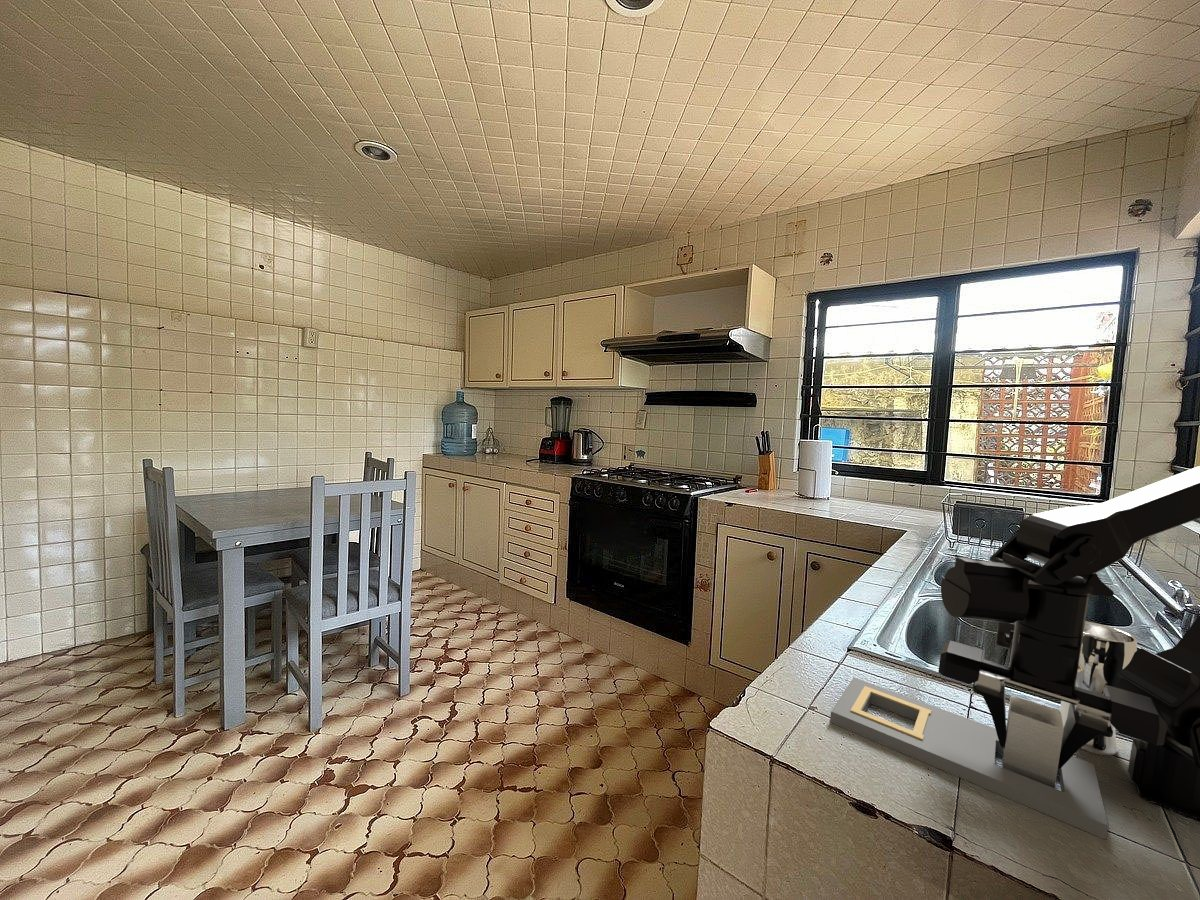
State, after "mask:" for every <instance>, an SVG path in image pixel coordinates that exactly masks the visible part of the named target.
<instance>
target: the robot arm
mask: <svg viewBox="0 0 1200 900" xmlns="http://www.w3.org/2000/svg"><path fill="white" fill-rule="evenodd" d="M1198 519H1199V520H1200V465H1198V466H1196V467H1193V468H1190V469H1188V470H1185V471H1182V472H1180V473H1176V474H1174V475H1172V476H1169V477H1167V478H1164V479H1161V480H1158V481H1156V482H1154V483H1151V484H1148V485H1146V486H1143V487H1140V488H1138V489H1135V490H1133V491H1130V492H1127V493H1125V494H1122V495H1119V496H1116V497H1113V498H1112V499H1109V500H1107V501H1104V502H1099V503H1094V504H1089V505H1079V506H1068V507H1067V506H1066V507H1060V508H1055V509H1051V510H1046V511H1043V512H1035V513H1034V514H1031V515H1029V516H1027V517H1025V518H1024V519H1023V520H1021V521H1020V522H1019V527H1018V530H1017V531H1016V532H1015V533H1014V534H1013V535H1012V536H1011V537H1010V538H1009V539H1008V540H1007V541H1006V542H1005V543H1003V545H1001V546H1000V547H999V548H998V549H997V550H996V551H995V552H994V553H993V554H991V556H990V557H989V561H987V560H977V559H976V560H975V559H972V558H970V557H962V556H957V557H956V558H955V560H954V561H955V562H954V566H952V567H950V568H949V569H947V571H946V572H945V575H944V577H943V578H941V582H940V593H941V594H940V596H941V599H942V603H943V607H944V608H945V610H946V612H947V613H948V614H949V615H950V616H952V618H953V617H954V618H957V619H958V618H959V619H968V620H978V621H987V622H995V623H998V624H997V631H996V636H995V637H996V638H995V645H996V647H997V646H998V647H1001V648H1004V649H1008V650H1009V652H1008V666H1007V665H1003V664H1000V663H997V662H994V661H990V660H987V659H984V658H982V657H983V649H982V648H979V647H975V646H971V645H969V644H968V645H967V644H965V643H961V642H957V641H955V640H954V641H953V640H947V641H946V642H945V643H943V647H942V650H941V653H940V657H939V665H938V671H937V672H938V673H939V674H940V675H941V676H943V677H946V678H949V679H952V680H955V681H958V682H961V683H965V684H967V685H971V684H972V691H973V692H974V693H975V694H977V695H980V696H982V697H983V698H982V699H983V700H984V702H985V704H986V707H987V708H988V710H989V713H990V716H991V717H992V718H991V719H992V721H993V725H994V728H995V729H996V732H997V736H998V740H999V743H1000V746H1001V747H1003V748H1005V742H1006V725H1007V714H1006V713H1007V710H1006V709H1007V708H1006V684H1007V685H1010V686H1013V687H1017V688H1020V689H1024V690H1026V691H1029V692H1033V693H1036V694H1039V695H1043V696H1046V697H1048V698H1050V699H1051V698H1052V699H1055V700H1058V701H1060V702H1061V701H1064V702H1067V703H1070V705H1069V710H1068V716H1067V719H1066V722H1065V725H1064V731H1063V737H1062V744H1061V751H1060V757H1059V764H1058V769H1061V768H1062V767H1063V765H1064V764H1065V763H1066V762H1067V761H1068V760H1069V759H1070V758H1071V757H1072V756H1073V757H1074V755H1075V754H1076V753H1077V752H1078V751H1079V750H1081V749H1080V748H1081V747H1082V746H1084V745H1085V744H1087V743H1088V742H1089V741H1091V740H1092V739H1094V738H1095V737H1097V736H1098V735H1103V736H1106V737H1112V736H1113V731H1112V727H1111V724H1112V725H1113V726H1114V727H1115V731H1117V733H1119V734H1121V735H1124V736H1126V737H1129V738H1133V739H1132V741H1131V742H1132V744H1131V749H1130V755H1129V762H1128V767H1127V771H1128V773H1129V777H1130V780H1131V782H1132V783H1134V784H1135V787H1136V790H1137V793H1138V796H1139V797H1140V798H1142V799H1144V800H1145V801H1149V802H1151V803H1153V804H1156V805H1159V806H1161V807H1164V808H1167V809H1169V810H1172V811H1174V812H1177V813H1180V814H1183V815H1185V816H1187V817H1191V818H1193V819H1196V820H1199V821H1200V614H1199V615H1198V616H1197V618H1196V619H1195V620H1194V621H1193V623H1192V624H1191V625H1190V627H1189V628H1188V630H1186V631H1185V633H1184V635H1183V636H1182V637H1181V639H1179V641H1178V642H1177V644H1176V645H1174V646H1173V647H1171V648H1168V649H1165V650H1162V651H1159V652H1156V653H1154V652H1153V651H1150V650H1147V649H1146V648H1143V647H1141V648H1139V649H1137V651H1136V652H1135V653H1134V655H1133V657H1132V659H1131V661H1130V663H1129V664H1128V665H1127V666H1126V667H1125V668H1124V669H1122V670H1121V671H1119V672H1118V673H1117V674H1118V675H1120V676H1121V677H1122V678H1121V679H1120V681H1119V683H1118V685H1117V688H1115V687H1112V686H1108V685H1106V686H1105V688H1104V690H1103V694H1099V693H1096V692H1093V691H1089V690H1086V689H1082V688H1079V687H1075V685H1076V678H1077V672H1078V665H1079V659H1080V652H1081V646H1082V639H1083V632H1084V626H1085V621H1086V617H1087V611H1088V606H1089V599H1090V598H1089V597H1090V596H1096V597H1097V596H1098V597H1099V596H1100V597H1107V598H1108V597H1109V598H1111V597H1113V596H1114V595H1115V592H1114V591H1113V589H1111V588H1110V587H1109V586H1108V585H1107V584H1106V583H1104V582H1103V581H1102V580H1101V578H1100V577H1099V576H1098V574H1097V573H1099V572H1100V571H1103V570H1104V569H1106V568H1108V567H1110V566H1111V565H1114V564H1115V563H1117V562H1119V561H1121V560H1122V559H1124V558H1125V557H1126V555H1127V554H1128V552H1129V551H1130V549H1131V548H1132V546H1133V545H1135V544H1136V543H1138V542H1140V541H1142V540H1144V539H1147V538H1150V537H1152V536H1156V535H1157V534H1159V533H1162V532H1165V531H1168V530H1171V529H1175V528H1176V527H1179V526H1182V525H1184V524H1188V523H1190V522H1192V521H1196V520H1198ZM1027 558H1028V559H1031V560H1033V561H1035V562H1038V563H1041V564H1043V565H1039V564H1037V563H1035V562H1032V561H1030V560H1028V559H1027ZM1110 723H1111V724H1110Z"/></svg>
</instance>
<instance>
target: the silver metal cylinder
mask: <svg viewBox="0 0 1200 900" xmlns="http://www.w3.org/2000/svg"><path fill="white" fill-rule="evenodd" d="M1137 650H1138V639H1137V638H1136V636H1134V635H1131V634H1130V633H1128V632H1126V631H1123V630H1121V629H1117V628H1115V627H1112V626H1108V625H1106V624H1102V623H1101V624H1100V623H1097V622H1094V621H1092V622H1091V621H1086V620H1085V626H1084V632H1083V639H1082V646H1081V652H1080V659H1079V665H1078V672H1077V678H1076V685H1075V687H1079V688H1082V689H1086V690H1089V691H1093V692H1096V693H1099V694H1103V690H1104V688H1105V686H1106V685H1108V686H1112V687H1115V688H1117V685H1118V683H1119V681H1120V679H1121V678H1122V677H1121V676H1120V675H1118V674H1117V673H1118V672H1119V671H1121V670H1122V669H1124V668H1125V667H1126V666H1127V665H1128V664H1129V663H1130V661H1131V659H1132V657H1133V655H1134V653H1135V652H1136V651H1137ZM1069 705H1070V703H1067V702H1064V701H1061V700H1060V706H1059V710H1058V711H1061V716H1062V722H1063V728H1064V725H1065V722H1066V719H1067V716H1068V710H1069ZM1110 724H1111V723H1110ZM1111 727H1112V731H1113V736H1112V737H1106V736H1103V735H1098V736H1097V737H1095V738H1094V739H1092V740H1091V741H1089V742H1088V743H1087V744H1085V745H1084V746H1082V747H1081V748H1080V749H1079V750H1083V751H1086V752H1088V753H1091V754H1095V755H1100V756H1114V755H1116V754H1117V751H1118V749H1117V748H1118V747H1117V746H1118V745H1117V739H1116V737H1117V736H1116V729H1115V727H1114V726H1113V725H1112V724H1111Z"/></svg>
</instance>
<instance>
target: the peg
mask: <svg viewBox="0 0 1200 900" xmlns="http://www.w3.org/2000/svg"><path fill="white" fill-rule="evenodd" d="M1008 706H1009V707H1008V711H1007V712H1008V713H1007V717H1006V742H1005V748H1003V753H1002V754H1001V767H1002V768H1004V769H1007V770H1009V771H1012V772H1014V773H1017V774H1019V775H1022V776H1024V777H1027V778H1029V779H1032V780H1035V781H1037V782H1040V783H1042V784H1045V785H1047V786H1050V787H1052V788H1055V789H1056V782H1057V770H1058V764H1059V757H1060V751H1061V744H1062V737H1063V731H1064V728H1063V722H1062V716H1061V711H1059V710H1057V709H1055V708H1051V707H1048V706H1045V705H1041V704H1039V703H1036V702H1033V701H1030V700H1026V699H1023V698H1020V697H1017V696H1014V695H1010V696H1009V705H1008Z"/></svg>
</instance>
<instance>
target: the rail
mask: <svg viewBox="0 0 1200 900" xmlns="http://www.w3.org/2000/svg"><path fill="white" fill-rule="evenodd" d="M870 705H873V706H876V707H879V708H882V709H884V710H886V711H889V712H892V713H894V714H897V715H900V716H902V717H905V718H907V719H910V720H912V721H915V723H914V727H913V729H909V728H907V727H904V726H902V725H899V724H896V723H894V722H891V721H889V720H887V719H884V718H882V717H879V716H876V715H874V714H871V713H869V712H867V710H868V708H869V707H870ZM829 718H830V719H829V723H831V724H833V725H837V726H838V727H841V728H843V729H845V730H848V731H851V732H852V733H855V734H857V735H860V736H862V737H865V738H866V739H869V740H871V741H873V742H876V743H879V744H880V745H884V746H885V747H887V748H890V749H892V750H895V751H897V752H899V753H902V754H904V755H907V756H909V757H910V758H913V759H916V760H918V761H920V762H922V763H925V764H928V765H930V766H931V767H935V768H937V769H940V770H942V771H943V772H946V773H949V774H952V775H954V776H955V777H957V778H960V779H962V780H965V781H967V782H970V783H972V784H974V785H977V786H979V787H982V788H984V789H986V790H988V791H991V792H993V793H995V794H998V795H1000V796H1003V797H1005V798H1007V799H1010V800H1012V801H1015V802H1017V803H1019V804H1021V805H1024V806H1026V807H1028V808H1031V809H1034V810H1036V811H1038V812H1041V814H1044V815H1047V816H1049V817H1052V818H1054V819H1056V820H1059V821H1061V822H1063V823H1066V824H1067V825H1070V826H1073V827H1076V828H1077V829H1080V830H1083V831H1085V832H1088V833H1089V834H1092V835H1094V836H1096V837H1099V838H1102V839H1103V840H1107V835H1108V829H1109V824H1108V820H1107V815H1106V811H1105V806H1104V803H1103V798H1102V794H1101V793H1102V792H1101V790H1100V785H1099V781H1098V778H1097V773H1096V769H1095V764H1094V763H1092V762H1089V761H1086V760H1085V759H1084V760H1083V759H1081V758H1079V757H1075V756H1074V755H1073V756H1072V757H1071V758H1070V759H1069V760H1068V761H1067V762H1066V763H1065V764H1064V765H1063V767H1062V768H1061V769H1058V770H1057V776H1058V777H1059V778H1058V779H1059V786H1060V787H1059V788H1060V789H1057V788H1056V787H1055V788H1052V787H1050V786H1047V785H1045V784H1042V783H1040V782H1037V781H1035V780H1032V779H1029V778H1027V777H1024V776H1022V775H1019V774H1017V773H1014V772H1012V771H1009V770H1007V769H1004V768H1002V766H999V765H996V764H995V761H996V753H998V754H1001V755H1002V753H1003V747H1001V746H1000V743H999V740H998V736H997V732H996V729H995V727H993V726H989V725H987V724H984V723H982V722H978V721H976V720H973V719H971V718H967V717H965V716H962V715H961V714H960V715H959V714H957V713H954V712H952V711H951V712H950V711H949V710H945V709H942V708H939V707H937V706H935V705H932V704H929V703H926V702H924V701H920V700H917V699H915V698H912V697H909V696H907V695H904V694H902V693H899V692H896V691H893V690H891V689H888V688H884V687H882V686H879V685H876V684H874V683H871V682H868V681H865V680H863V679H861V678H857V677H855V676H854V677H852V679H851V680H850V681H849V683H848V685H847V687H845V689H844V691H843V693H842V694H841V696H840V697H839V699H838V700H837V702H836V703H835V704H834V706H833V708H832V709H831V711H830V717H829Z"/></svg>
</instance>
